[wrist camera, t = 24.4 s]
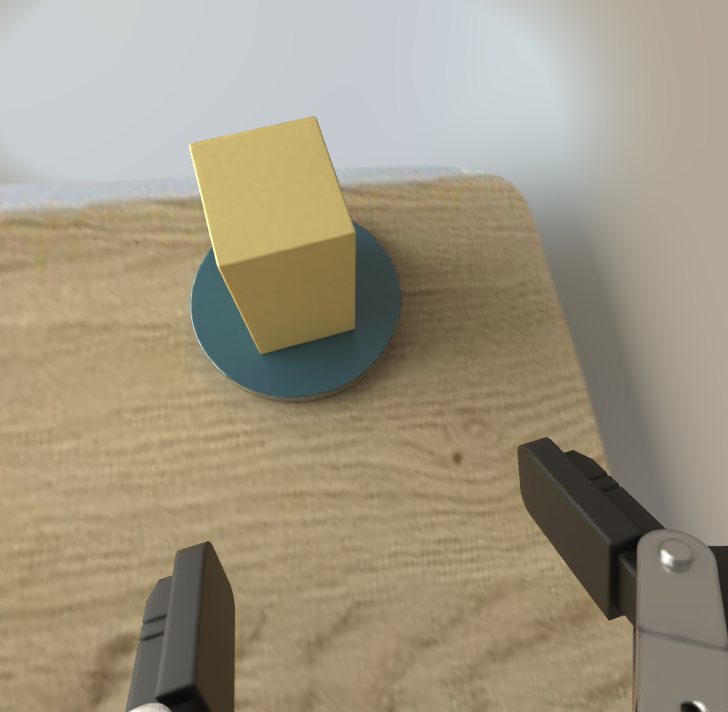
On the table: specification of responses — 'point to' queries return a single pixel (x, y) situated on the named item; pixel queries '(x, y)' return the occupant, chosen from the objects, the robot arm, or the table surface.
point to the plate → (307, 360)
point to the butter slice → (280, 231)
